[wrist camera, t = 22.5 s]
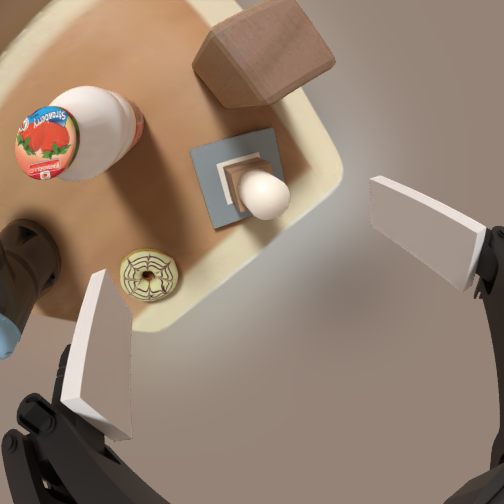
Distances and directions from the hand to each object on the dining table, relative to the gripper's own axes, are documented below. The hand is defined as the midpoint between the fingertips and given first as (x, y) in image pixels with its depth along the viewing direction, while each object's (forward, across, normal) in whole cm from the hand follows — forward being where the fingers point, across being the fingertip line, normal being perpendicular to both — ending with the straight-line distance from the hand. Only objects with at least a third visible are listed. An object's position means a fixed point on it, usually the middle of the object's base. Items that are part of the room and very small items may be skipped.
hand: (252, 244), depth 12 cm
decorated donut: (+35, -14, -18) cm, 42 cm away
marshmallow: (+27, +7, -7) cm, 29 cm away
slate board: (+35, +7, -7) cm, 36 cm away
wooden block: (+35, +10, +11) cm, 38 cm away
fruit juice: (+35, -10, +8) cm, 37 cm away
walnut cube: (+33, +7, -7) cm, 35 cm away
